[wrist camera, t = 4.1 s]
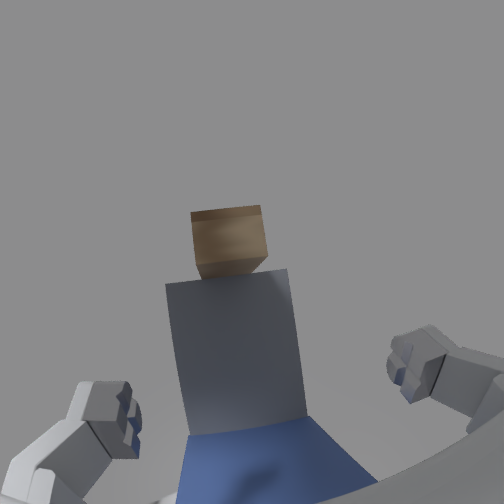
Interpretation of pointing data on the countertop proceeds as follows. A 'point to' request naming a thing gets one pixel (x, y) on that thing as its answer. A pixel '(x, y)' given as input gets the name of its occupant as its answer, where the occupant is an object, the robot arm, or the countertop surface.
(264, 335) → the l-shaped step block
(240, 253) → the slide box
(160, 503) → the countertop surface
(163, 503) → the countertop surface
